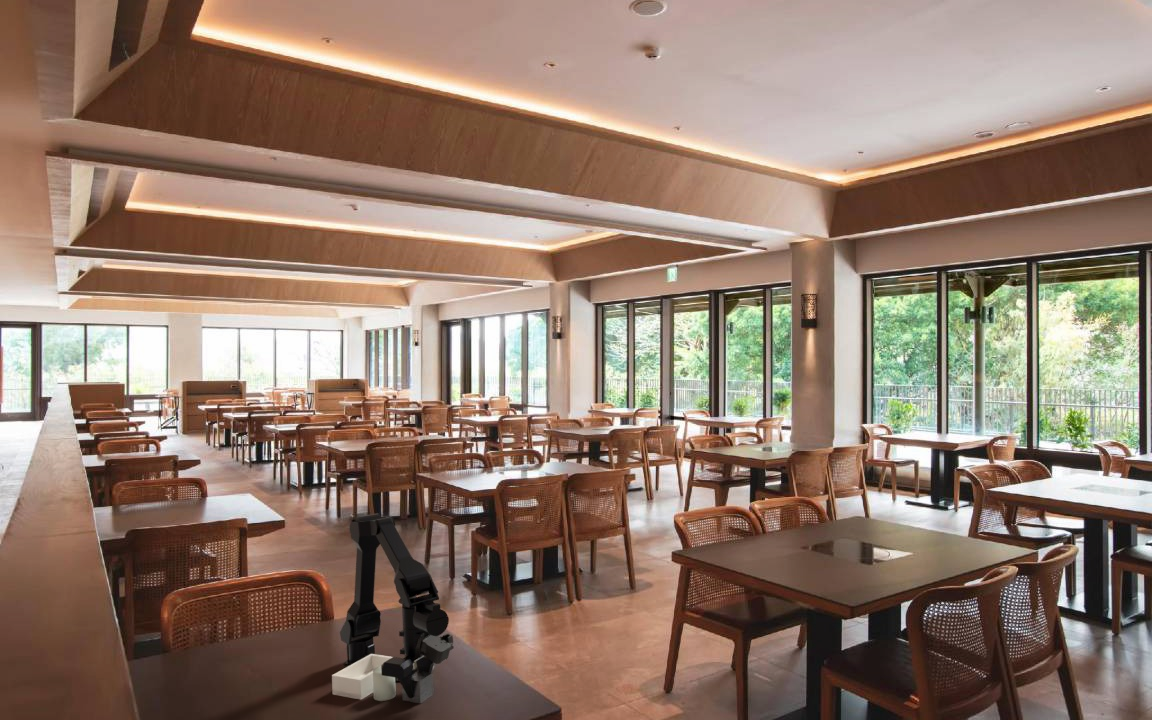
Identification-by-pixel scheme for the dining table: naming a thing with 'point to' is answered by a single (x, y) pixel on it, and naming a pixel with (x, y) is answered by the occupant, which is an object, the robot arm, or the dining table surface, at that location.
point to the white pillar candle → (383, 686)
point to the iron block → (421, 687)
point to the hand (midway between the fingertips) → (418, 692)
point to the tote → (357, 677)
